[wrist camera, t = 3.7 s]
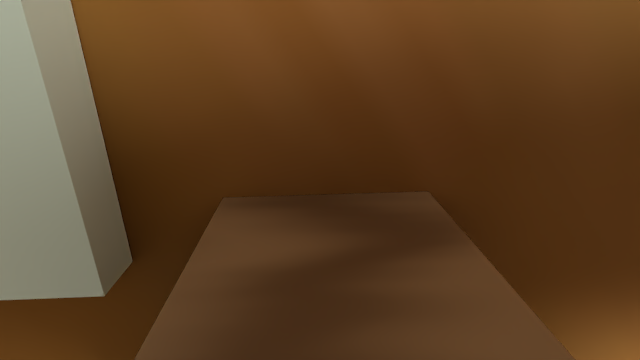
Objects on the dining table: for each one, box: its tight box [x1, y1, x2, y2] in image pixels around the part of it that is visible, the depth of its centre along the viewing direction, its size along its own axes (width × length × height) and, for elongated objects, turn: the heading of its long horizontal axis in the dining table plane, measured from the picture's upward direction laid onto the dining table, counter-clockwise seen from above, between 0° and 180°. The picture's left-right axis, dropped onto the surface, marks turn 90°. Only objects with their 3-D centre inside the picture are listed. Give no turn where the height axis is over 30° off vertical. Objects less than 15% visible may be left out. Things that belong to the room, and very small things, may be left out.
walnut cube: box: [134, 191, 575, 360], centre depth 8 cm, size 6×6×6 cm
